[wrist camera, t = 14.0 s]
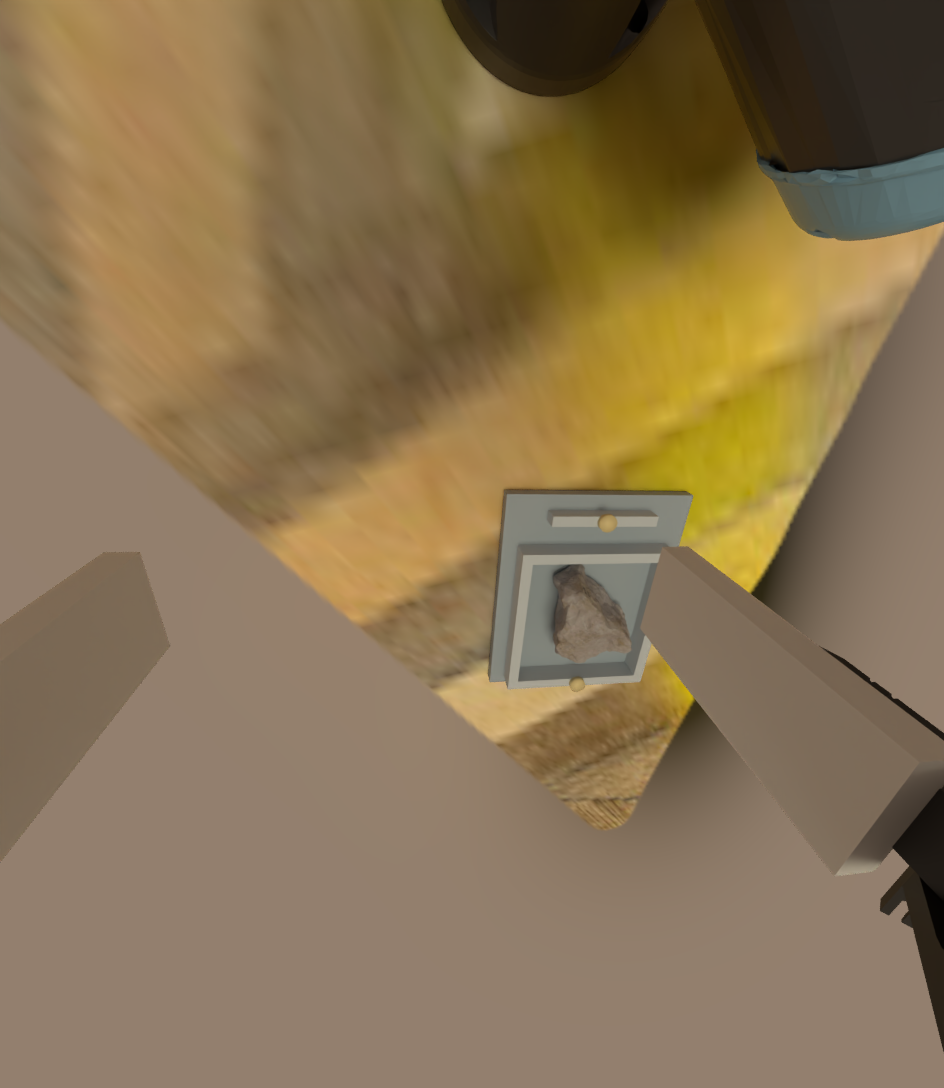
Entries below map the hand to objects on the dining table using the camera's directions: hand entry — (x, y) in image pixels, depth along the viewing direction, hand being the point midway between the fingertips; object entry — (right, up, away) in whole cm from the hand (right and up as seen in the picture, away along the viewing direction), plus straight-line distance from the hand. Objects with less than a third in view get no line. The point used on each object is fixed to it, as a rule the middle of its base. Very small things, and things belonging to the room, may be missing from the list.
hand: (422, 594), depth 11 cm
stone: (+12, -5, +33) cm, 35 cm away
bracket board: (+13, -4, +33) cm, 36 cm away
